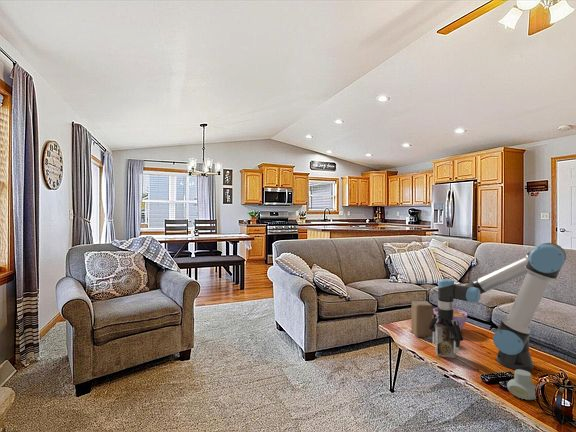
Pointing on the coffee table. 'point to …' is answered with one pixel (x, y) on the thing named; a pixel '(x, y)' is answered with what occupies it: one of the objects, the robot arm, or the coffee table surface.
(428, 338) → the tv remote
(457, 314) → the bowl of food
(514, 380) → the air freshener
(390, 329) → the coffee table surface
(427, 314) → the wooden block
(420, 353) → the coffee table surface
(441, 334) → the coffee box
